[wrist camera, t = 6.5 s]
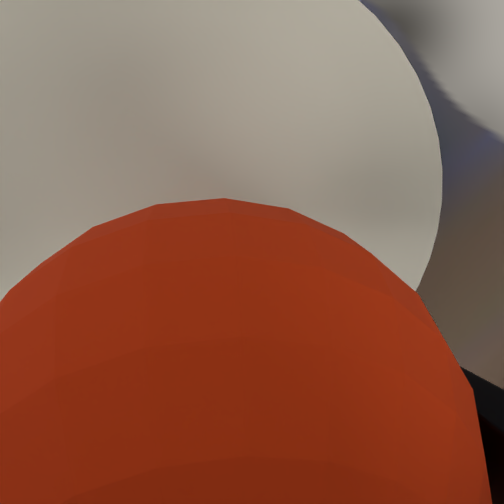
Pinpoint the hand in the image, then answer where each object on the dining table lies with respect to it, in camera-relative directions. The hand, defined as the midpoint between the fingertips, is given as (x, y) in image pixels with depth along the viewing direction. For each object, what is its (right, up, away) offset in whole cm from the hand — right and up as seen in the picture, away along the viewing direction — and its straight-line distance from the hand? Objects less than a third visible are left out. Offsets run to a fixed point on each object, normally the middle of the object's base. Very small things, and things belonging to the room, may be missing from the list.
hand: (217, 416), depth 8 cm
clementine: (0, +1, +2) cm, 3 cm away
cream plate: (-1, +4, +8) cm, 9 cm away
